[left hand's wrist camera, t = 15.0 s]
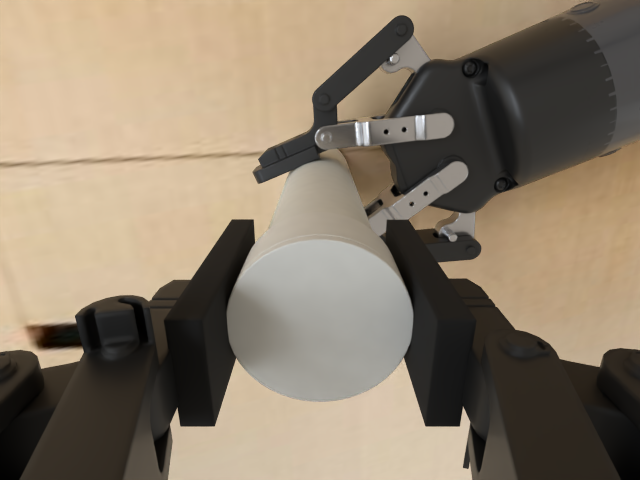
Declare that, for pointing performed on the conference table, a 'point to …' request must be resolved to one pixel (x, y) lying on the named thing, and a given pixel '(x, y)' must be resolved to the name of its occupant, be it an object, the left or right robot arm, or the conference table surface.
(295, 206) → the bottle
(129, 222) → the conference table surface
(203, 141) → the conference table surface
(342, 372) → the lid
